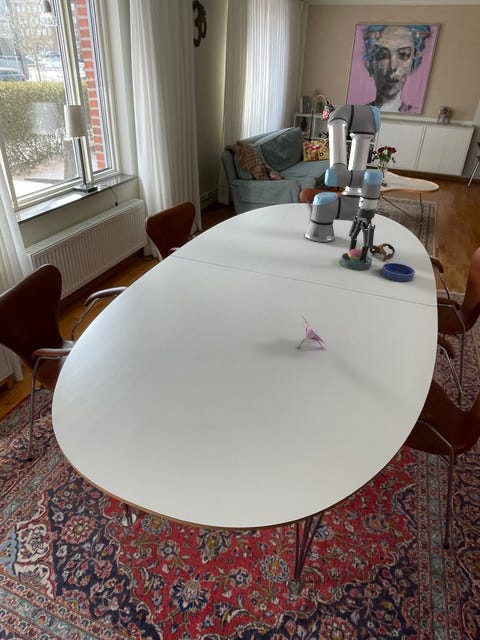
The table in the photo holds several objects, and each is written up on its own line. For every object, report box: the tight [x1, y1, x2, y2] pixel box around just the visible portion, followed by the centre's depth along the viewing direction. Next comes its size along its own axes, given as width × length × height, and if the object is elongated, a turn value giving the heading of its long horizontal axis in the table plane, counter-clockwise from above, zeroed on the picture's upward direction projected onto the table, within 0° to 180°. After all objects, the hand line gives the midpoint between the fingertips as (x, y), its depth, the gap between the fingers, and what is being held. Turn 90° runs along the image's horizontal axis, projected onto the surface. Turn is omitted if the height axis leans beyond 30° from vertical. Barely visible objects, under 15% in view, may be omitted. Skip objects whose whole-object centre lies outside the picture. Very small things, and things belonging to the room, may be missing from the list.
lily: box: [297, 314, 327, 349], centre depth 136 cm, size 12×12×10 cm
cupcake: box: [347, 241, 368, 263], centre depth 197 cm, size 9×8×12 cm
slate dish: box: [340, 252, 373, 271], centre depth 200 cm, size 14×14×3 cm
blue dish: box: [380, 262, 416, 282], centre depth 191 cm, size 14×14×3 cm
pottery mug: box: [368, 242, 396, 262], centre depth 208 cm, size 12×10×8 cm
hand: (356, 256), depth 199 cm, fingers closed on cupcake, 8 cm apart
